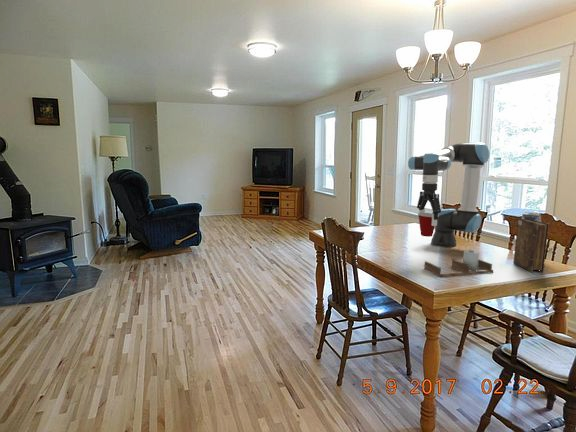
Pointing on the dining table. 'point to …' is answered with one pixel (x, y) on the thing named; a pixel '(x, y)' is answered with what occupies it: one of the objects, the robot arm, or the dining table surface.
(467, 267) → the comb rack
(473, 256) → the stoneware jar
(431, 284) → the dining table surface
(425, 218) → the plastic cup
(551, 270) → the dining table surface
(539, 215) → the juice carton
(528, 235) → the book
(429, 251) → the dining table surface
